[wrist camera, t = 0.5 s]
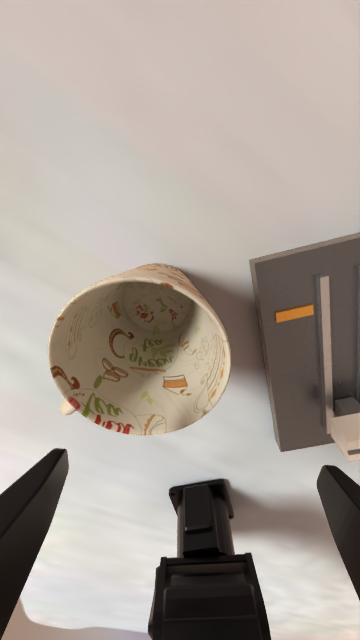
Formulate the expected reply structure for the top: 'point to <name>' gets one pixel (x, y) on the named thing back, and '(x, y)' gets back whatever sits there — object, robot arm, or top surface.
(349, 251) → the console board
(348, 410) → the fader tab
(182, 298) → the mug
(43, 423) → the top surface
